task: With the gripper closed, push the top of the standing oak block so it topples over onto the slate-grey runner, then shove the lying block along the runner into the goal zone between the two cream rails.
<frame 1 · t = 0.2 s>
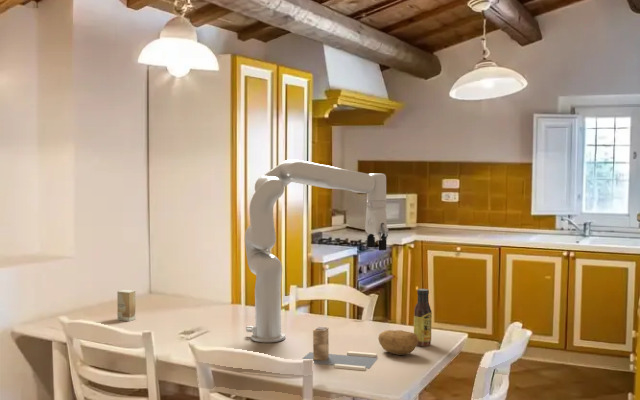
hand: (376, 248, 275), 31 cm above the table, tool pointing down, fingers open, 9 cm apart
sauce bottle: (422, 345, 251), on the table
oak block: (321, 358, 234), resting on runner
runner: (338, 361, 232), on the table
skincare box: (126, 320, 292), on the table
potato: (397, 354, 240), on the table
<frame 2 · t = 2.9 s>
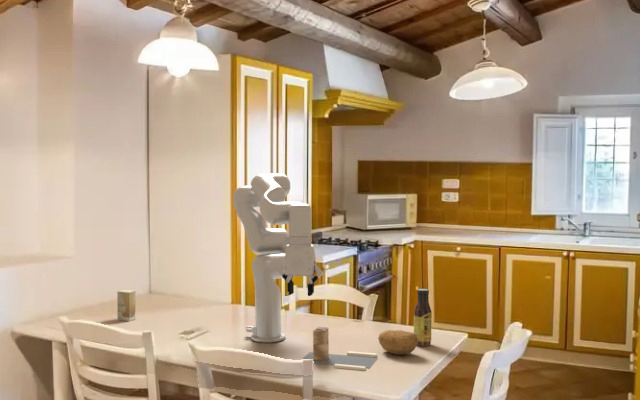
hand: (300, 294, 234), 22 cm above the table, tool pointing down, fingers open, 6 cm apart
nothing on the table moved.
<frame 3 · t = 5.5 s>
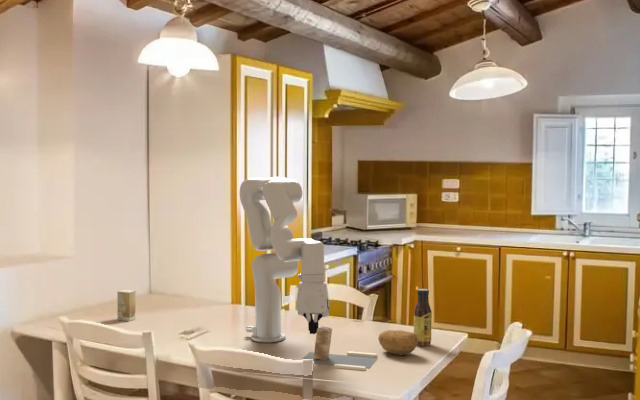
hand: (313, 333, 234), 9 cm above the table, tool pointing down, fingers closed
oak block: (321, 357, 234), point 1 cm above the table, tilted 8°, touching gripper, runner
everything else where it was.
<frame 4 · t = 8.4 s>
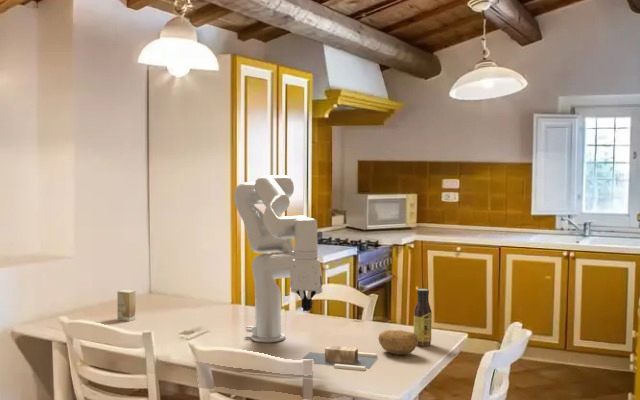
hand: (306, 310, 234), 16 cm above the table, tool pointing down, fingers closed
oak block: (326, 353, 233), point 2 cm above the table, tilted 90°, touching runner
everything else where it was.
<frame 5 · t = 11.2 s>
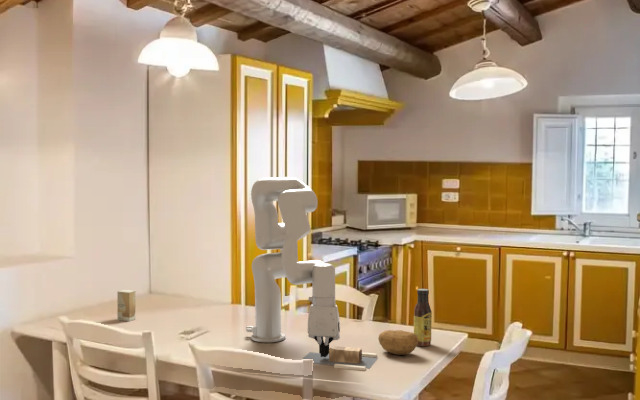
hand: (324, 355, 233), 1 cm above the table, tool pointing down, fingers closed
oak block: (330, 353, 232), point 2 cm above the table, tilted 90°, touching gripper, runner
everything else where it was.
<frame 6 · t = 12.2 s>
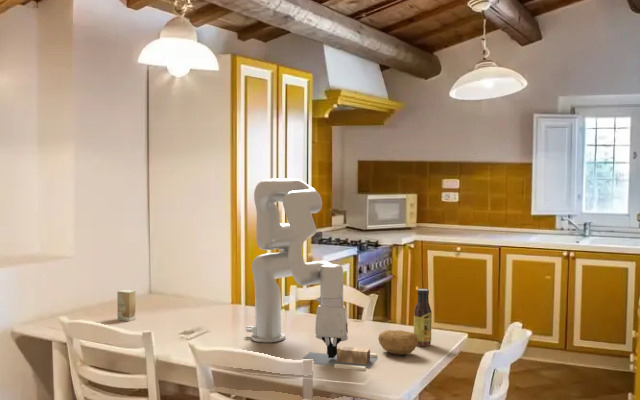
hand: (332, 356, 232), 1 cm above the table, tool pointing down, fingers closed
oak block: (338, 354, 232), point 2 cm above the table, tilted 90°, touching gripper, runner
everything else where it was.
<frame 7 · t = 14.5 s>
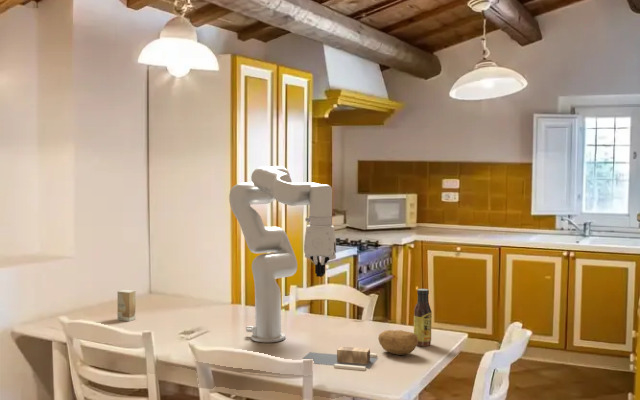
hand: (320, 275, 236), 27 cm above the table, tool pointing down, fingers closed
oak block: (338, 354, 232), point 2 cm above the table, tilted 90°, touching runner
everything else where it was.
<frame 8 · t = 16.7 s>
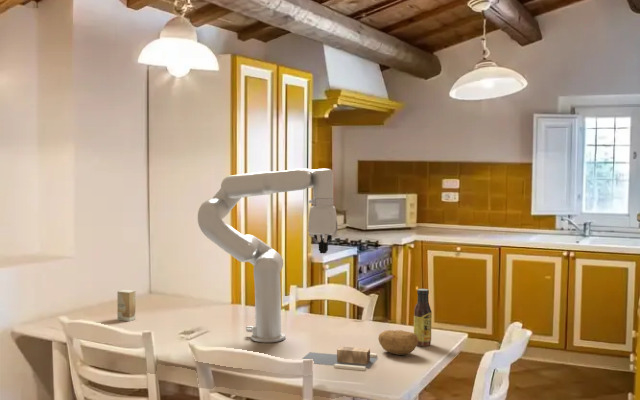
hand: (323, 252, 257), 32 cm above the table, tool pointing down, fingers closed
nothing on the table moved.
at the end: oak block tilted 90°; oak block inside the target area on the runner (0.6 cm from its centre), point 2.4 cm above the runner's base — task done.
